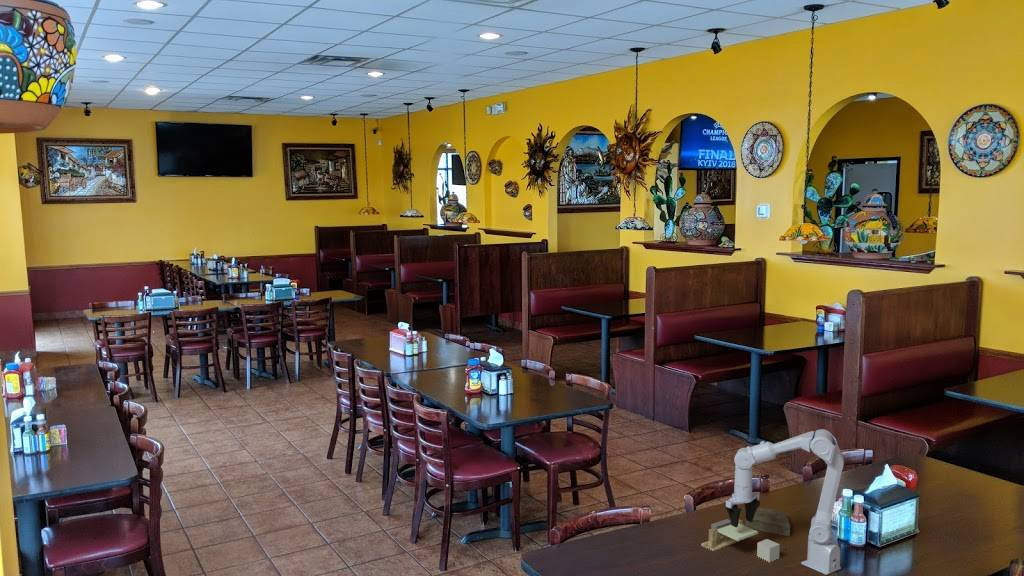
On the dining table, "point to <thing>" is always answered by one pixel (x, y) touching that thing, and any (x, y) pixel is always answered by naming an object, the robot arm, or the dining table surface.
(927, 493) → the dining table surface
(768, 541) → the white cube
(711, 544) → the frame
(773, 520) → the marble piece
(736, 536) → the trapdoor
